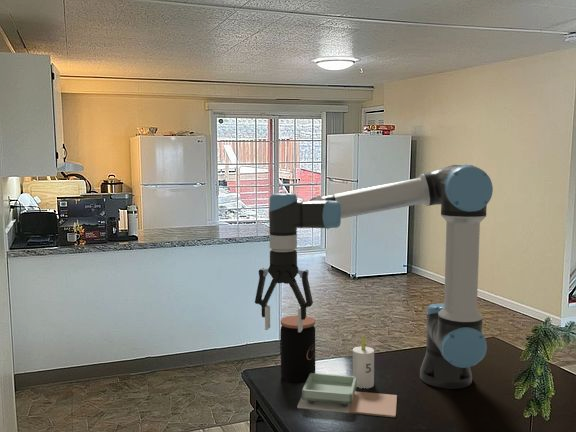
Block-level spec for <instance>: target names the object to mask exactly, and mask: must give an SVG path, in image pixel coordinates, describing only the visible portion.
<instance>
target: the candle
mask: <svg viewBox="0 0 576 432" xmlns="http://www.w3.org/2000/svg"><path fill="white" fill-rule="evenodd" d="M360 344H361V345H360V346H355V347H353V348H352V376H354V377H357V386H356V388H357V387H359V388H358V389H362V388H364V390H365V388H366V389H370V388H373V387H374V386H375V349H374V348H373V347H370V346H366V345H367V344H366V339H365V336H364V334H361V343H360Z"/></svg>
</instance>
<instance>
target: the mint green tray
mask: <svg viewBox="0 0 576 432" xmlns="http://www.w3.org/2000/svg"><path fill="white" fill-rule="evenodd" d="M356 386H357V377H354V376H353V375H343V374H342V375H340V374H329V373H328V374H327V373H316V372H315V373H310V375H309V377H308V379H307V381H306V383H304V385H303V388H302V389H301V397H302V400H308V402H309V403H310V404H313V403H314V401H323V402H333V403H341V405H342V406H343V407H347V405H348V404H352V402H353V398H354V394H355V391H356V389H357V387H356Z"/></svg>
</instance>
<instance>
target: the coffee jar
mask: <svg viewBox="0 0 576 432" xmlns="http://www.w3.org/2000/svg"><path fill="white" fill-rule="evenodd" d="M315 324H316V319H315V318H313V317H311V316H308V315H306V318H305V320H303V330H302V331H301V332H298V315H289V316H285V317H282V318H281V319H280V325H281V327H280V376H281V378H282V379H283V380H284V381H285V382H287V383H290V384H305V383H306V381H307V379H308V377H309V375H310V373H316V327H315Z"/></svg>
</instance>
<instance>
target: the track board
mask: <svg viewBox="0 0 576 432" xmlns="http://www.w3.org/2000/svg"><path fill="white" fill-rule="evenodd" d="M397 399H398V395H397V394H388V393H377V392H368V391H356V390H355V394H354V398H353V402H352V404H348V405H347V407H343V406H342V405H341V403H333V402H323V401H314V403H313V404H310V403H309V402H308V400H302V396H301V397H300V400H299V401H298V403H297V409H305V410H313V411H314V410H315V411H326V412H334V413H345V414H354V415H365V416H375V417H377V416H378V417H386V418H396V415H397V405H398V404H397V401H398V400H397Z"/></svg>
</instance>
